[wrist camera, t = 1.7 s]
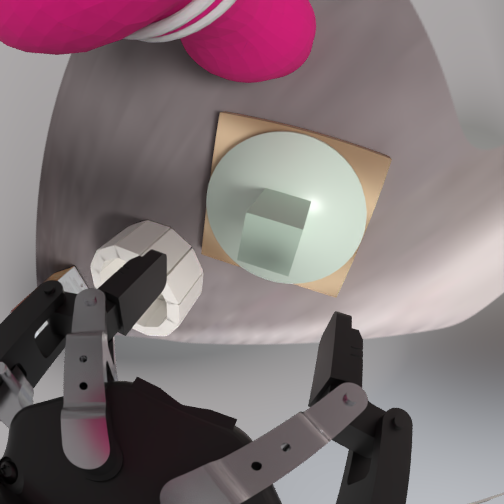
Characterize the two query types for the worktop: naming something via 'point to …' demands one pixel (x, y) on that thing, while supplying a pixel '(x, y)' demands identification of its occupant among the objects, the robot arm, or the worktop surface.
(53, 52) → the pepper mill
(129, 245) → the bowl
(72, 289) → the small box
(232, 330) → the worktop surface
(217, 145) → the plate
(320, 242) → the lid
